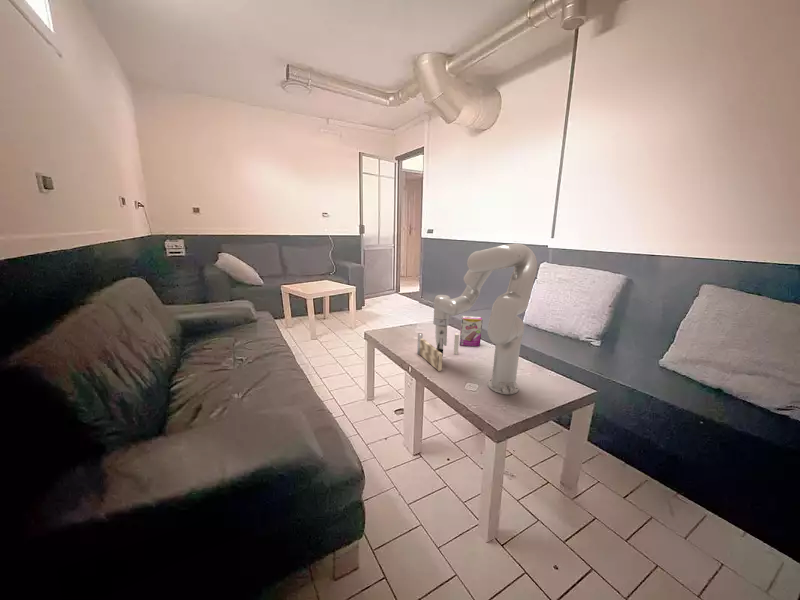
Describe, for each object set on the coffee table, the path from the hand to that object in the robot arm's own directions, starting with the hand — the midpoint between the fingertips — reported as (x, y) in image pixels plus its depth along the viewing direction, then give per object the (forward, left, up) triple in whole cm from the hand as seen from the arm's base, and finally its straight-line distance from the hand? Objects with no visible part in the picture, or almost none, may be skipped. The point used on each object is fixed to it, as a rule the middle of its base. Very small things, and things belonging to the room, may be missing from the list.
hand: (439, 356), depth 155 cm
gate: (-1, +4, -3) cm, 5 cm away
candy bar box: (+24, -18, -4) cm, 31 cm away
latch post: (+11, -9, -3) cm, 15 cm away
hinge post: (+9, +10, -3) cm, 14 cm away
